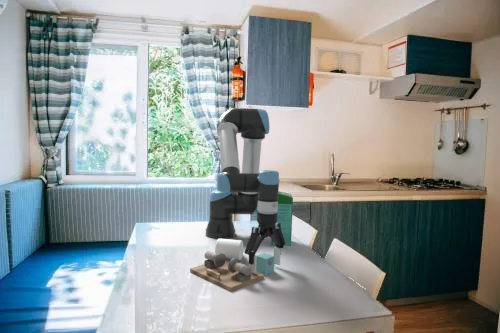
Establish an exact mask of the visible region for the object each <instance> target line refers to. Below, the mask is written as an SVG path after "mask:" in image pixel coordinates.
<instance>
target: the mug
mask: <svg viewBox="0 0 500 333" xmlns="http://www.w3.org/2000/svg"><path fill="white" fill-rule="evenodd" d="M243 241H244V240H241V239H232V238H230V239H229V238H217V240H216V243H215V247H214V254H219V253H223V254H224V255H225V256H226V260H229V261H230V260H231V259H233V258H236V259H238V260H239V261H241V260H242V258H243V254H244V242H243Z"/></svg>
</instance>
